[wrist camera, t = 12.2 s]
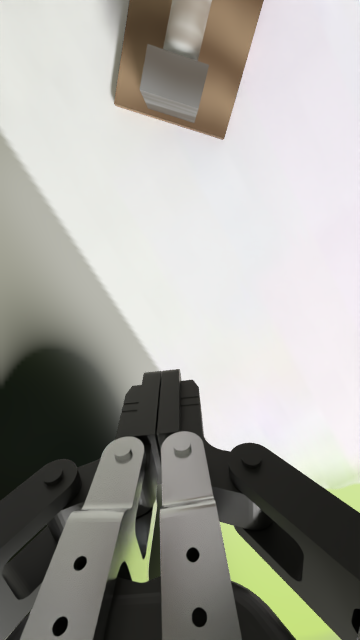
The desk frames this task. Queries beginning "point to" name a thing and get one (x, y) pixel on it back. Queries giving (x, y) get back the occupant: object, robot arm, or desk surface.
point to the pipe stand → (186, 60)
